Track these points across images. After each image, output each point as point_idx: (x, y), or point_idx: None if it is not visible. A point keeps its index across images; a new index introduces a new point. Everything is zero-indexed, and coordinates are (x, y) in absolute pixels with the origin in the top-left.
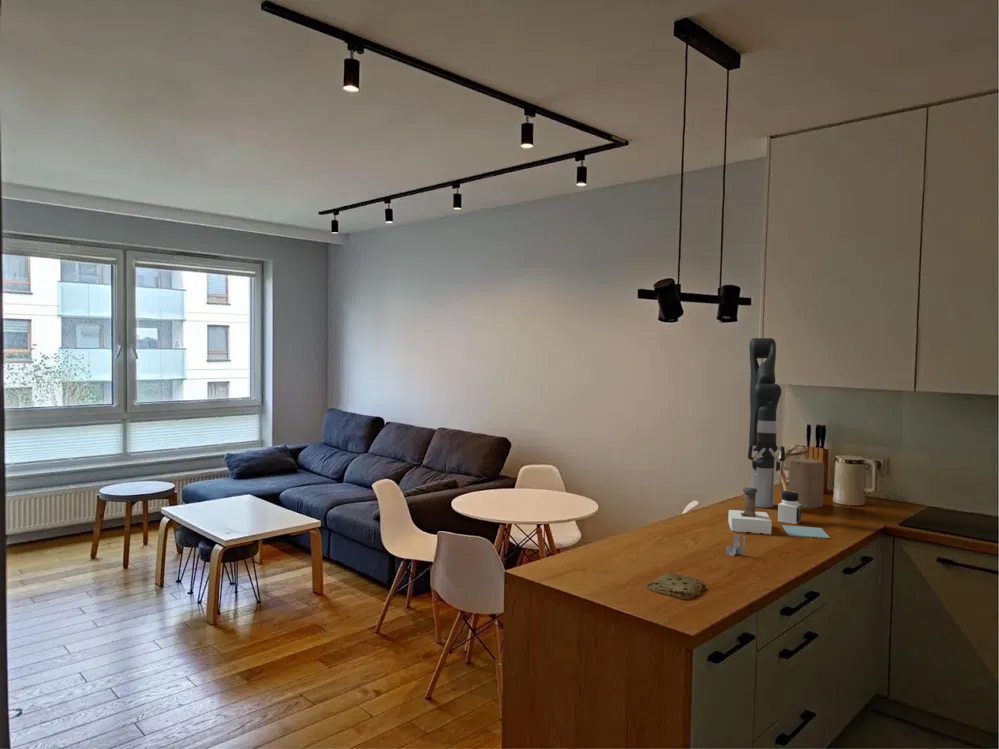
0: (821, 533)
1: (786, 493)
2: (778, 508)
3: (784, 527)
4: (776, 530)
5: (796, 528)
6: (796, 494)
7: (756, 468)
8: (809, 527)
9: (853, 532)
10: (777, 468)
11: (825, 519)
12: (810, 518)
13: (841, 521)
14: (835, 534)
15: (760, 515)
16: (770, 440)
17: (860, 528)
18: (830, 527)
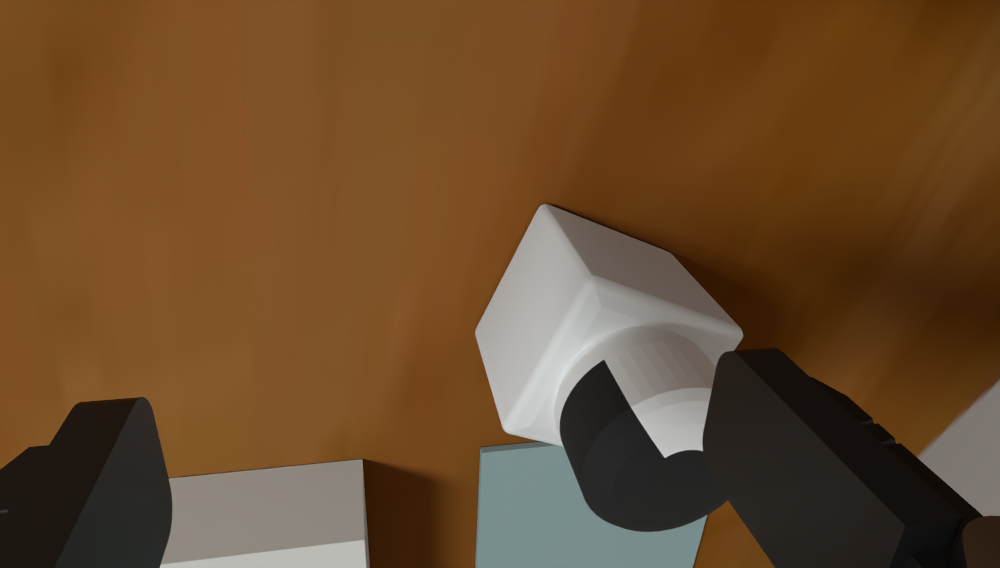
0: (674, 539)
1: (614, 524)
2: (496, 404)
3: (483, 501)
4: (419, 551)
5: (558, 496)
6: (716, 507)
7: (161, 561)
8: None
9: (886, 427)
10: (757, 508)
11: (906, 123)
12: (793, 125)
13: (995, 155)
14: None
15: None
16: None
17: (993, 320)
18: (808, 362)
